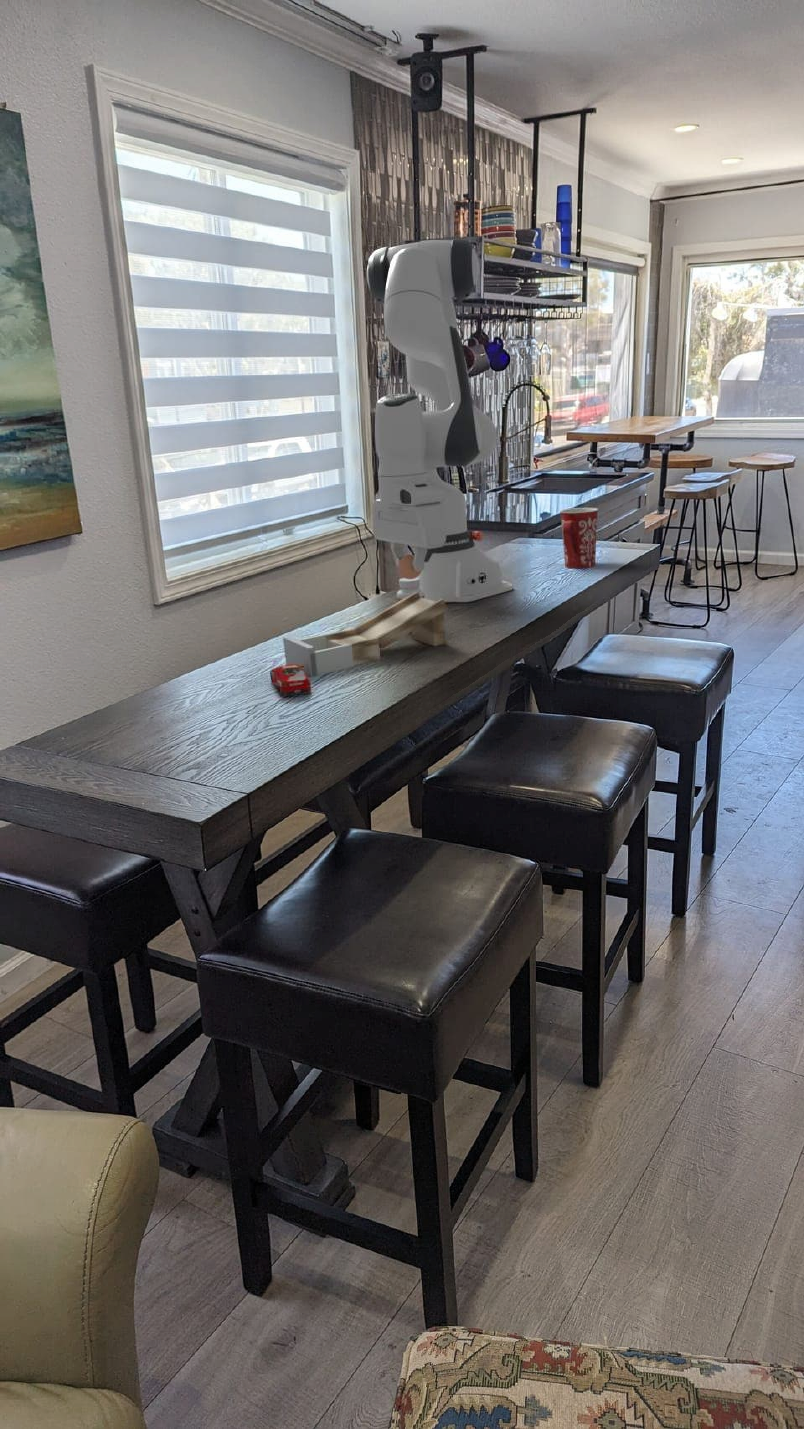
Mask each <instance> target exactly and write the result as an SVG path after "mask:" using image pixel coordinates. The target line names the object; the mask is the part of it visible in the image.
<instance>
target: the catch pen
mask: <svg viewBox="0 0 804 1429" xmlns="http://www.w3.org/2000/svg"><path fill="white" fill-rule="evenodd" d="M326 634H327V633H324V634H319V635H313V636H310V637H305V638H299V639H297V638H294V637H293V636H290V635H289V636H288V635H287V636H282V640H283V642H282V643H283V650H284V657H285V665H290V664H298V665H300V666H304V667H303V668H302V670H303V671H304V673H305V674H306V675H307V677H310V678H312V677H316V676H321V675H324V674H329V673H333V672H334V673H335V672H337V671H338V672H339V671H343V670H346V669H352V668H354V667H355V665H353V655H352V645H351V644H346V645H342V646H337V647H333V648H328V649H327V640H326Z"/></svg>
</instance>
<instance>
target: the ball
mask: <svg viewBox="0 0 804 1429" xmlns="http://www.w3.org/2000/svg"><path fill="white" fill-rule="evenodd" d="M414 555H415V554H407V555H406V554H405V556H404V557H402V558H401V559H400V561H399V563H398V567H397V570H398V573H399V575H400V576H401V577H402V578H406V579H414V578H416V577H418V576H419V575H420V573H421V571H414V570H412V563H411V561H414Z"/></svg>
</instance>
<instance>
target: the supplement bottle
mask: <svg viewBox="0 0 804 1429" xmlns="http://www.w3.org/2000/svg"><path fill="white" fill-rule="evenodd" d="M398 580H399V581H398V582H399V583H398V584H399V588H400V589H399V590H398V591H397V592H396V601H397V602H399V601H401V600H402V599H404V598H406V597H408V596H409V595H411V594H413V593H414V592H418V593H419V595H420V597H421V598H425V596H424V591H423V590H422V589H420V588H419V586H420V579H419V578H417V577H416V578H414V579H406V578H404V577H402V578H400V579H398ZM397 602H396V603H397Z"/></svg>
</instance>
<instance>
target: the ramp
mask: <svg viewBox="0 0 804 1429" xmlns="http://www.w3.org/2000/svg"><path fill="white" fill-rule="evenodd" d="M447 610H448V608H447V605H446V602H444V599H442V598H441V599H439V600H437V601H436V602H435V601H432V600H428V599H425V598H421V597H420V595H419V593H418V592H414V593H413V594H411V595H409V596H408V597H406V598H404V599H402V600H401V601H399V602H396V603H394V604H392V605H391V606H389V607H387V608H385V609H384V610H382V611H380V612H379V613H377V614H375V615H374V616H372V617H371V618H369V619H367V620H365V621H364V622H362V623H360V624H359V625H357V626H355V627H354V628H350V629H345V630H340V631H336V632H331V633H325V634H326V640H327V649H328V648H333V647H337V646H342V645H346V644H351V645H352V655H353V665H354V666H357V665H362V664H365V663H366V664H367V663H372V662H374V660H375V661H378V659H380V660H381V650H383V649H384V648H386V647H388V646H390V645H391V644H393V643H396V642H397V641H398V640H400V639H401V638H403V637H405V636H406V635H409V633H411V638H412V639H413V638H414V639H413V640H415V641H416V640H417V641H418V642H419V641H420V642H421V643H426V644H427V643H428V644H427V645H430V646H434V647H437V646H440V645H441V646H442V645H445V643H446V628H445V626H446V625H445V614H444V612H446V611H447ZM446 644H447V643H446ZM380 649H381V650H380Z"/></svg>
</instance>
